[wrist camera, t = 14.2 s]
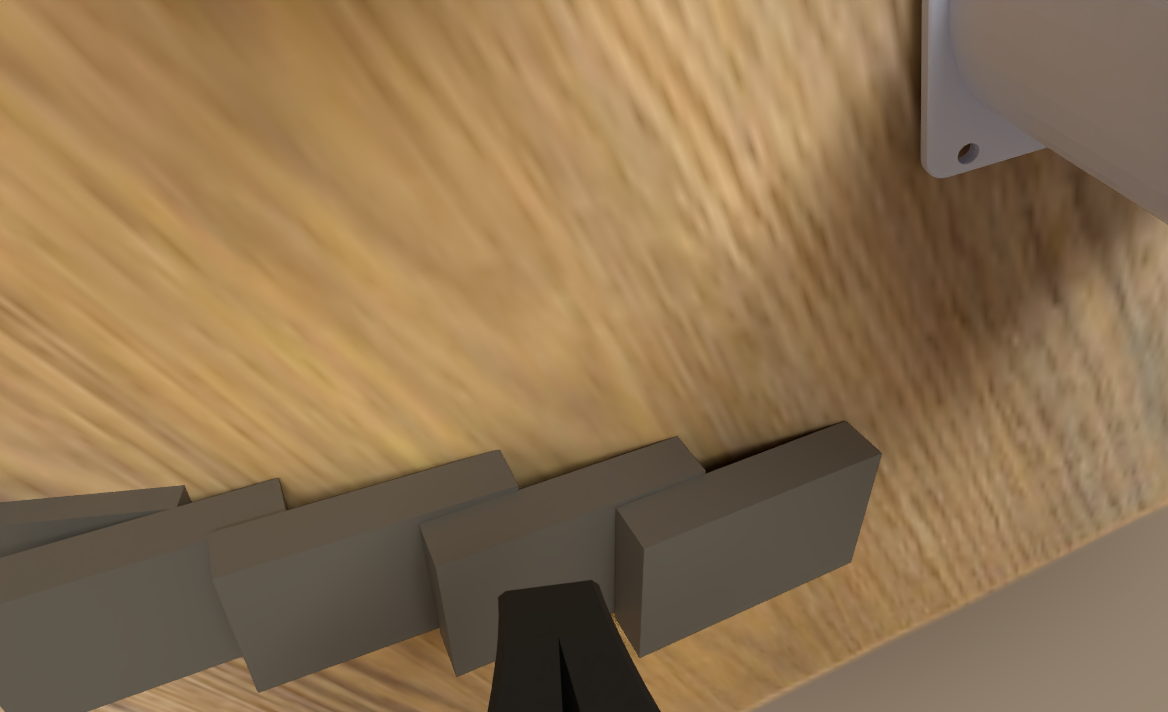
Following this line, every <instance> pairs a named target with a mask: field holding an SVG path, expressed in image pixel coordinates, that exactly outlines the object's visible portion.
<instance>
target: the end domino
mask: <svg viewBox="0 0 1168 712" xmlns="http://www.w3.org/2000/svg"><path fill="white" fill-rule="evenodd" d="M189 503H192V502H191V500H190V498H189V495H188V493H187V490H186V488H185V485H182V486H172V487H161V488H150V489H140V490H129V491H118V492H108V493H97V494H86V495H76V496H65V497H54V498H44V499H33V500H22V501H12V502H1V503H0V558H2V557H5V556H9V555H12V554H16V553H19V552H23V551H26V550H29V549H33V548H36V547H40V546H43V545H47V544H50V543H54V542H57V541H61V540H64V539H68V538H71V537H75V536H78V535H82V534H85V533H89V532H92V531H96V530H99V529H102V528H106V527H109V526H113V525H116V524H120V523H123V522H127V521H130V520H134V519H137V518H141V517H144V516H148V515H151V514H155V513H158V512H162V511H165V510H168V509H172V508H175V507H179V506H182V505H186V504H189Z"/></svg>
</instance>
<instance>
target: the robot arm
mask: <svg viewBox="0 0 1168 712" xmlns="http://www.w3.org/2000/svg"><path fill="white" fill-rule="evenodd" d="M969 143H971V145H970V148H969V150H968V152H967V153H966V154H965V155H963V156H961V157H959V158H958V154H959V151H960V150H961V149H962V148H963V146H965V145H967V144H969ZM1044 148H1049V149H1051V150H1052V151H1054V152H1055V153H1057V154H1058V155H1060V156H1062V157H1063V158H1065V159H1066V160H1068V161H1069V162H1071V163H1073V164H1074V165H1076V166H1077V167H1079V168H1080V169H1082V170H1083V171H1085V172H1087V173H1088V174H1090V175H1091V176H1093V177H1094V178H1096V179H1098V180H1099V181H1101V182H1102V183H1104V184H1105V185H1107V186H1109V187H1110V188H1112V189H1113V190H1115V191H1116V192H1118V193H1119V194H1121V195H1123V196H1124V197H1126V198H1127V199H1129V200H1130V201H1132V202H1134V203H1135V204H1137V205H1138V206H1140V207H1141V208H1143V209H1145V210H1146V211H1148V212H1149V213H1151V214H1152V215H1154V216H1155V217H1157V218H1159V219H1160V220H1162V221H1163V222H1165V223H1166V224H1168V0H922V61H921V164H922V167H923V168H924V169H925V171H926V172H928V173H929V174H930V175H931V176H932V177H935V178H938V179H940V178H947V177H951V176H954V175H957V174H961V173H964V172H967V171H971V170H974V169H977V168H981V167H984V166H987V165H991V164H994V163H998V162H1001V161H1004V160H1008V159H1011V158H1014V157H1018V156H1021V155H1024V154H1028V153H1031V152H1034V151H1038V150H1041V149H1044ZM498 612H499V620H498V640H497V652H496V661H495V668H494V676H493V683H492V690H491V696H490V701H489V707H488V712H661V711H660V710H659V708H658V706H657V704H656V703H655V701H654V699H653V698H652V696H651V694H650V692H649V691H648V689H647V687H646V685H645V683H644V682H643V680H642V678H641V676H640V674H639V672H638V670H637V669H636V667H635V665H634V663H633V661H632V659H631V657H630V655H629V653H628V651H627V649H626V647H625V645H624V643H623V641H622V639H621V637H620V634H619V632H618V630H617V628H616V626H615V624H614V621H613V619H612V617H611V615H610V612H609V610H608V607H607V605H606V602H605V600H604V597H603V595H602V592H601V589H600V586H599V584H598V583H596V582H594V581H593V580H586V581H579V582H571V583H563V584H555V585H548V586H540V587H532V588H525V589H517V590H509V591H505V592H504V593H502V594H501V595H500V596H499V597H498Z"/></svg>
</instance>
